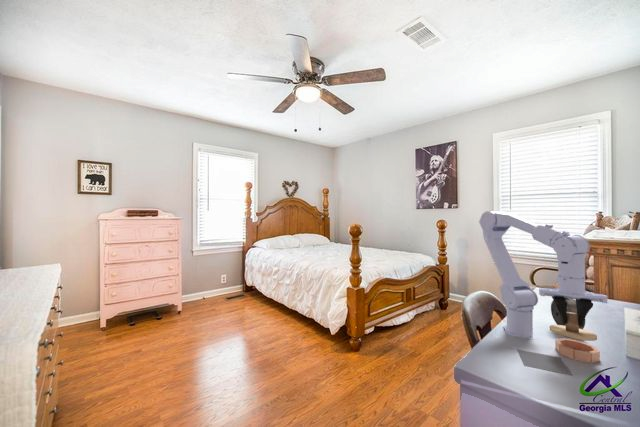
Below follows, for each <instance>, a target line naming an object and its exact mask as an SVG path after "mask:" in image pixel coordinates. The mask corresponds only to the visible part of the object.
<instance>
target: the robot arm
mask: <svg viewBox="0 0 640 427" xmlns="http://www.w3.org/2000/svg"><path fill="white" fill-rule="evenodd" d="M478 222H479V225H480V228H481V229H482V234H483V237H482V238H483V240H484V242H485V244H486V246H487V247H486V248H487V249H488V251H489V254H490V256H491V258H492V261H493V262H494V265H495V268H496V269H497V271H498V274H499V277H500V278H501V280H502V283H501V285H500V287H499V289H498V290H499V292H500V299H501V302H502V303H503V305H504V306H505V308H506V324H503V329H504V331H505V332H506V335H508V336H511V337H512V336H513V337H519V338H524V339H530V340H535V341H536V340H537V337H536V336H535V335H534V333H533V331H534V330H533V324H534V323H533V318H534V316H533V312H534V311H533V310H534V308H535V306H537V304H538V303H539V297H538V295H537V292H536V291H534V290H533V288H532V287H531V286H530V283H528V282H527V281H525V280H523V279H522V278H521V276H520V274H519V272H518V270H517V269H516V266H515V263H514V262H513V259H512V257H511V256H510V253H509V251H508V249H507V247H506V245H505V242H504V241H503V236H504V235H505V233H507V231H508V230H509V229H510V228H511V227H513V228H515V229H518V230H519V231H520V230H521V231H523V232H525V233H528V234H530V235H531V236H532V239H533V240H535V241H537V242H538V243H541V244H543V245H544V246H548V247H549V248H552V249H553V251H554V252H555V254H556V259H557V265H558V266H557V268H558V269H557V273H558V274H557V275H558V276H557V278H558V279H557V280H558V281H557V284H558V285H557V287H558V288H546V287H545V288H542V287H539V289H538V291H539V292H538V294H539V296H541V297H551V298H552V301H553V300H554V302H555V304H556V306H557V308H558V310H559V313H560V316H561V321H562V322H563V323H564V324H567V315H566V311H567V302H566V299H564V298H570V299H574V300H575V301H576V308H577V314H578V318H579V326H583V322H584V319H585V320H586V316H587V315H588V313H589V312H590V310H591V309H592V308H594V307H593V306H594V303H593V302H597V303H602V304H608V295H605V294H601V293H594V292H587V291H586V257H585V256H586V254H587V253H588V252H589V251H590V248H591V245H590V244H591V243H590V242H589V241H588V239H587V238H585V237H583V236H582V235H579V234H575V235H571V234H570V232H569V231H566V230H560V229H558V228H556V227H554V225H553V224H550V223H546V224H545V223H542V224H538V225H537V224H536V223H533V222H531V221H530V220H527V219H525V218H523V217H521V216H518V215H517V214H516V213H513V212H509V211H506V210H504V211H490V210H486V211H484V212H483V213H482V214H481V216H480V219H479V220H478Z"/></svg>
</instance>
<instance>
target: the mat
mask: <svg viewBox="0 0 640 427" xmlns="http://www.w3.org/2000/svg"><path fill="white" fill-rule="evenodd" d="M516 350H517V353H518V355H519V357H520V359H521V361H522V364H523V366H524V367H529V368H533V369H538V370H544V371H548V372H552V373H557V374H561V375H562V374H563V375H565V376H566V375H567V376H572V377H574V375H573V374H572V372H571V370H570V369H569V368H568V367H567V365H566V364H565V362H564V361H563V359H562V358H561V357H559V356H555V355H551V354H544V353H538V352H533V351H528V350H523V349H519V348H518V349H516Z"/></svg>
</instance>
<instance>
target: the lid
mask: <svg viewBox="0 0 640 427" xmlns="http://www.w3.org/2000/svg"><path fill="white" fill-rule="evenodd" d="M566 315H567V324H566V326H563V325H557V324H551V325H549V331H550V332H552V333H554V334H555V335H558V336H562V337H564V338H567V339H572V340H577V341H587V342H594V341H595V342H596V341H597V340H598V336H597V334H596V333H594V332H591V331H589V330H586V329H584V328H583V329H579V318H578V314H576V313H572V312H566Z"/></svg>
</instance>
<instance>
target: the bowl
mask: <svg viewBox="0 0 640 427" xmlns="http://www.w3.org/2000/svg"><path fill="white" fill-rule="evenodd" d="M554 342H555V345H554V346H555V348H554V349H556V351H557V352H558V353H559V354H560V355H563V356H564V357H568V358H570V359H572V360H575V361H580V362H587V363H595V362H596V363H597V362H601V358H600V357H601V353H600V350H599V349H598V348H596V346H594V345H592V344H589V343H587V342H584V341H582V340H578V339H572V338H566V337H563V338H558V339H555V340H554Z"/></svg>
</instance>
